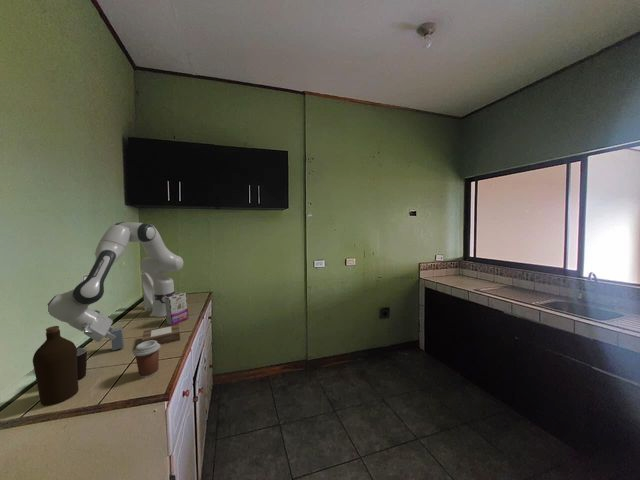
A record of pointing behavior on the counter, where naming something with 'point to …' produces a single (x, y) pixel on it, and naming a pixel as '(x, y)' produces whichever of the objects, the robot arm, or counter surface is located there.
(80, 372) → the coffee mug
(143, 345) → the coffee cup
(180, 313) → the candy bar box
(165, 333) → the walnut base
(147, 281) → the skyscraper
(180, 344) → the counter surface
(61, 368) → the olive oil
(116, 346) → the slate block
